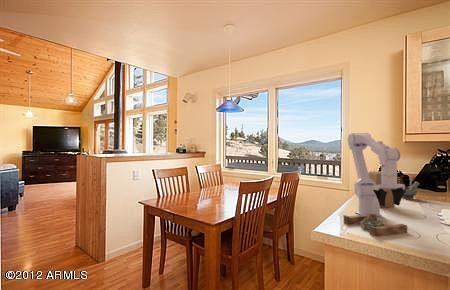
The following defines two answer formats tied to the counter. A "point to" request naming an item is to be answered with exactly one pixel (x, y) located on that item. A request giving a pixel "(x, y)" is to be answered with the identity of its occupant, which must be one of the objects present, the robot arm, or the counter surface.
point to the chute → (376, 230)
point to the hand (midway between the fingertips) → (389, 205)
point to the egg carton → (370, 223)
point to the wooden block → (389, 197)
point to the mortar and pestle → (410, 191)
